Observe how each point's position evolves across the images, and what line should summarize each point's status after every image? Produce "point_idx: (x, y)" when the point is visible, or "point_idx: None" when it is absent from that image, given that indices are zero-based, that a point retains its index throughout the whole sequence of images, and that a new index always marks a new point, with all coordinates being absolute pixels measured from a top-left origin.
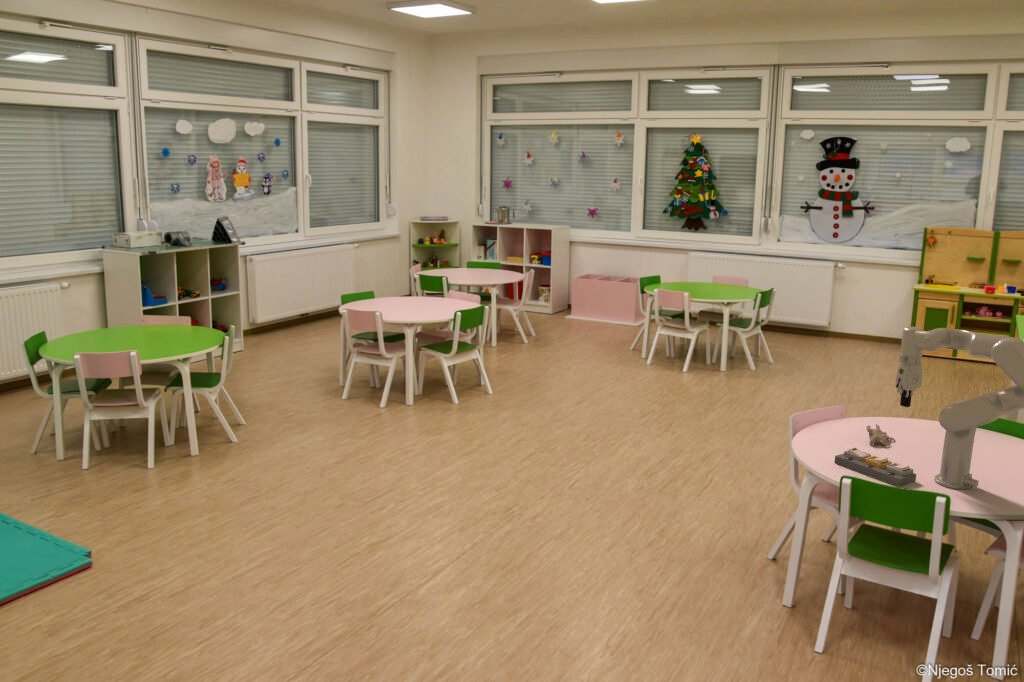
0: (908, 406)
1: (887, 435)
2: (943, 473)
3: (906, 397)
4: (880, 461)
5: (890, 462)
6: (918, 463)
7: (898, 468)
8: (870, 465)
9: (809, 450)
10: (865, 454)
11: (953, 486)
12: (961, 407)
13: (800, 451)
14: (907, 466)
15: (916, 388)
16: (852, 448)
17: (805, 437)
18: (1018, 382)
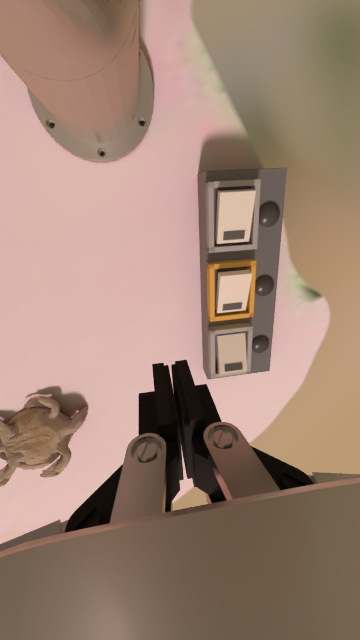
0: (176, 361)
1: (2, 437)
2: (137, 96)
3: (212, 430)
4: (250, 273)
5: (215, 264)
6: (62, 275)
7: (252, 207)
8: (260, 286)
9: (240, 429)
10: (221, 338)
11: (141, 50)
12: None
13: (261, 430)
14: (229, 192)
15: (124, 528)
16: (234, 371)
17: (182, 482)
18: None
